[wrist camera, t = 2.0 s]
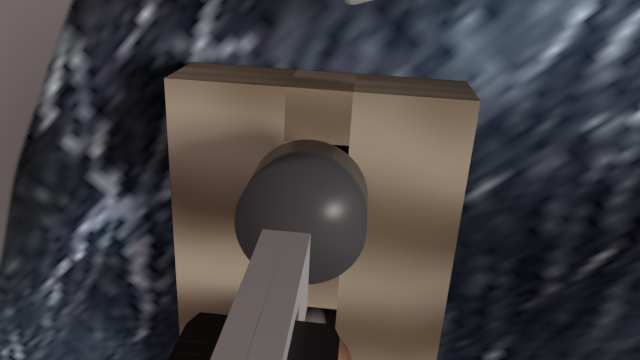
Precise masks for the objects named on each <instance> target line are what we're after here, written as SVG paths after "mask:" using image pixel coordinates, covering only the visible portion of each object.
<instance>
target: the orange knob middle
mask: <svg viewBox="0 0 640 360" xmlns="http://www.w3.org/2000/svg"><path fill="white" fill-rule="evenodd" d="M327 317H328V311H327V308H317V307H307V310H306V316H305V321H306V322H316V323H326V324H327ZM339 338H340V337H339ZM338 360H351V355H350V352H349V350H348V348H347V346H346V345H345V343H344V342H343V341H342V340H341V338H340V343H339V355H338Z"/></svg>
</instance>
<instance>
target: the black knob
mask: <svg viewBox="0 0 640 360" xmlns="http://www.w3.org/2000/svg"><path fill="white" fill-rule="evenodd" d="M367 206H368V191H367V185H366V181H365V178H364V176H363V173H362V171H361V170H360V168H359V166H358V165H357V164H356V162H355V161H354V160H353V159H352V158H351V157H350V156H349V155H348V154H347V153H345V152H344V151H343V150H341V149H339V148H338V147H336V146H334V145H331V144H329V143H326V142H322V141H318V140H307V139H303V140H295V141H291V142H287V143H285V144H282V145H280V146H278V147H276V148H275V149H273V150H272V151H270V152H269V153H268V154H267V155H266V156H265V157H264V158H263V159H262V160H261V162H260V163H259V165H258V166H257V168H256V170H255V172H254V174H253V175H252V177H251V179H250V181H249V182H248V184H247V186H246V188H245V190H244V191H243V193H242V195H241V197H240V199H239V201H238V203H237V206H236V210H235V217H234V226H235V233H236V237H237V240H238V243H239V245H240V247H241V249H242V251H243V252H244V254H245V255H246V257H247V258H248V259H249V260H250V259H251V257H252V254H253V252H254V249H255V247H256V245H257V242H258V240H259V237H260V235H261V232H262V230H263V229H266V230H277V231H288V232H299V233H310V234H311V240H310V260H309V280H308V285H310V284H318V283H323V282H326V281H329V280H331V279H334V278H336V277H338V276H339V275H341V274H343V273H344V272H345V271H347V270H348V269H349V268H350V267H351V266H352V265H353V264H354V263H355V262H356V260H357V259H358V257H359V256H360V254H361V252H362V250H363V247H364V244H365V241H366V235H367Z"/></svg>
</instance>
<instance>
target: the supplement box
mask: <svg viewBox="0 0 640 360" xmlns="http://www.w3.org/2000/svg"><path fill="white" fill-rule="evenodd" d="M369 1H373V0H345V2H346V3H347V4H348V5H356V4H360V3H364V2H369Z"/></svg>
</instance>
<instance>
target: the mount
mask: <svg viewBox="0 0 640 360" xmlns="http://www.w3.org/2000/svg"><path fill="white" fill-rule="evenodd" d="M164 86H165V102H166V118H167V135H168V151H169V168H170V184H171V200H172V217H173V233H174V250H175V266H176V282H177V299H178V315H179V332H180V335H181V333H182V331H183V329H184V327H185V325H186V323H187V322H189V321H190V320H191V319H192V318H193V317H195V316H196V315H197V314H198V313H199V312H204V313H214V314H224V315H228V314H229V312H230V309H231V307H232V304H233V302H234V299H235V297H236V294H237V292H238V289H239V287H240V284H241V282H242V279H243V277H244V274H245V272H246V269H247V267H248V264H249V262H250V260H249V259H248V258H247V257H246V255H245V254H244V252H243V251H242V249H241V247H240V245H239V243H238V240H237V237H236V233H235V226H234V217H235V210H236V206H237V203H238V201H239V199H240V197H241V195H242V193H243V191H244V190H245V188H246V186H247V184H248V182H249V181H250V179H251V177H252V175H253V174H254V172H255V170H256V168H257V166H258V165H259V163H260V162H261V160H262V159H263V158H264V157H265V156H266V155H267V154H268V153H269V152H270V151H272V150H273V149H275V148H276V147H278V146H280V145H282V144H285V143H287V142H291V141H295V140H303V139H307V140H318V141H322V142H326V143H329V144H331V145H344V146H349V156H350V157H351V158H352V159H353V160H354V161H355V162H356V164H357V165H358V166H359V168H360V170H361V171H362V173H363V176H364V178H365V181H366V185H367V191H368V206H367V235H366V241H365V244H364V247H363V250H362V252H361V254H360V256H359V257H358V259H357V260H356V262H355V263H354V264H353V265H352V266H351V267H350V268H349V269H348V270H347V271H345V272H344V273H343V274H341V275H339V276H338V277H336V278H334V279H331V280H329V281H326V282H323V283H318V284H310V285H308V301H307V307H317V308H327V309H337V311H335V310H327V311H328V317H327V324H333V325H334V327H335V329H336V331H337V333H338V335H339V337H340V338H341V340H342V341H343V342H344V343H345V345H346V346H347V348H348V350H349V352H350V355H351V360H437V355H438V349H439V343H440V337H441V331H442V326H443V320H444V314H445V308H446V302H447V296H448V290H449V284H450V279H451V273H452V267H453V261H454V255H455V249H456V243H457V238H458V232H459V226H460V220H461V214H462V208H463V202H464V196H465V191H466V185H467V179H468V173H469V167H470V161H471V155H472V149H473V144H474V138H475V132H476V126H477V120H478V114H479V108H480V102H481V101H480V100H479V98H478V97H477V95H476V94H475V93H474V91H473V90H472V89H471V87H470V86H469V85H468V83H467V82H466V81H452V80H438V79H423V78H409V77H395V76H381V75H366V74H352V73H338V72H324V71H309V70H295V69H281V68H267V67H252V66H238V65H224V64H210V63H195V62H192V63H190V64H188V65H186V66H185V67H183V68H181V69H179V70H178V71H176V72H174V73H172V74H171V75H169V76H167V77H165V78H164Z"/></svg>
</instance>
